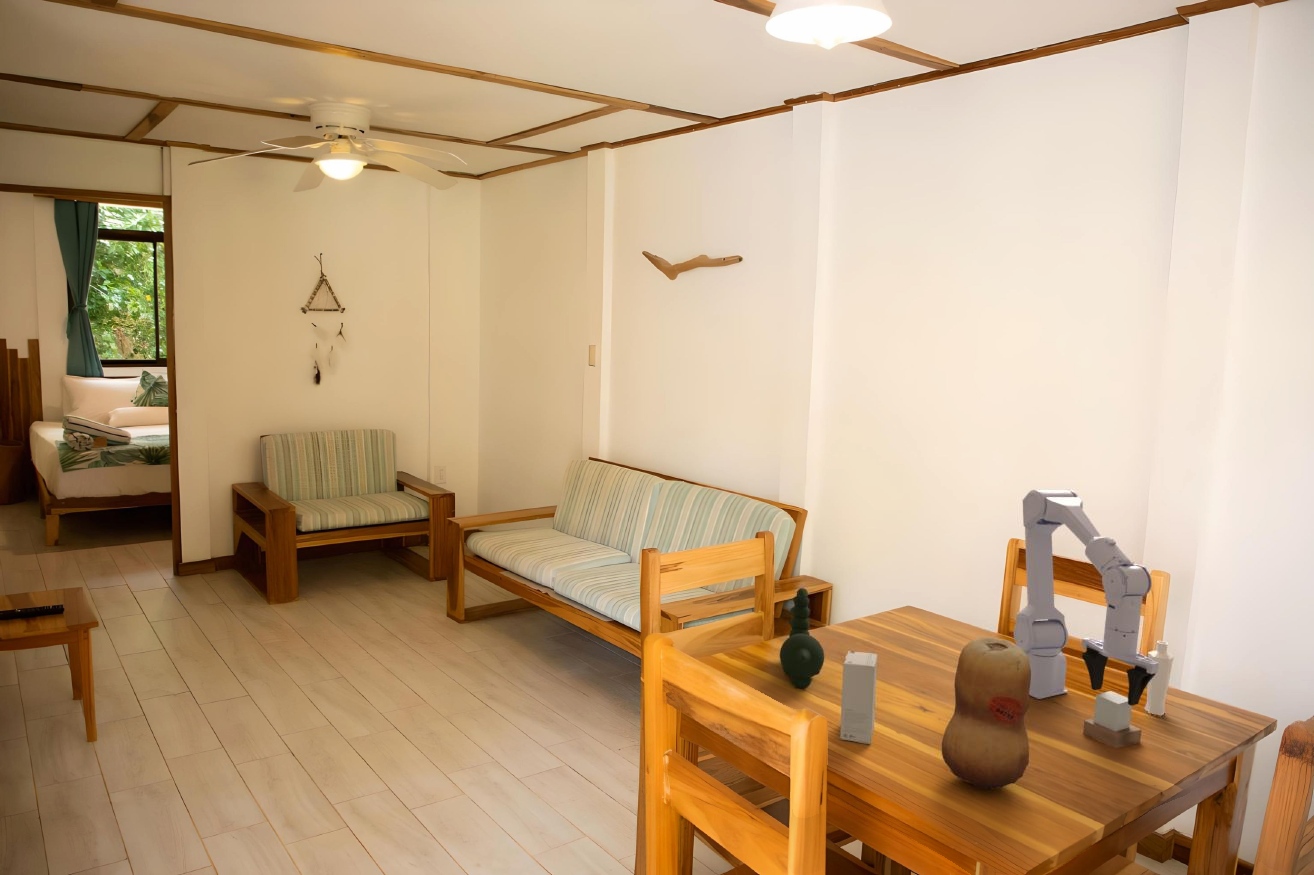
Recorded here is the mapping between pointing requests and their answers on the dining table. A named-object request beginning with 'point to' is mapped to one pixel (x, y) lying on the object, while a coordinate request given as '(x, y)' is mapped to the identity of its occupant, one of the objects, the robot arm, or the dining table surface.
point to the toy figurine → (801, 645)
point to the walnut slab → (1112, 734)
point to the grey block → (1112, 711)
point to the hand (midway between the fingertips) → (1114, 696)
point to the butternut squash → (989, 714)
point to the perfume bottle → (1159, 679)
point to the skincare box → (858, 697)
